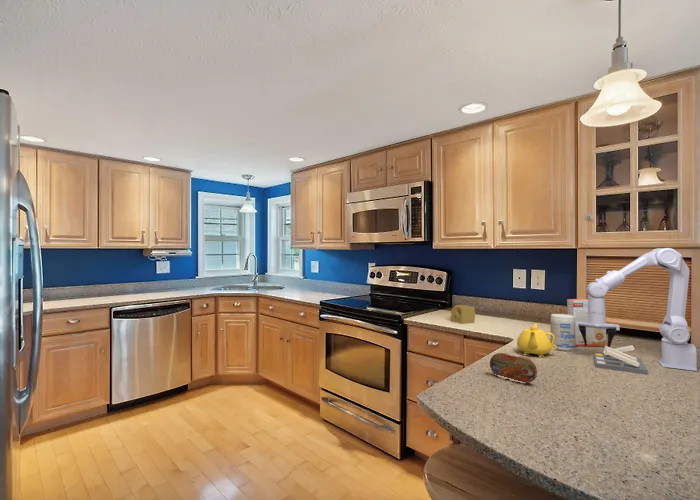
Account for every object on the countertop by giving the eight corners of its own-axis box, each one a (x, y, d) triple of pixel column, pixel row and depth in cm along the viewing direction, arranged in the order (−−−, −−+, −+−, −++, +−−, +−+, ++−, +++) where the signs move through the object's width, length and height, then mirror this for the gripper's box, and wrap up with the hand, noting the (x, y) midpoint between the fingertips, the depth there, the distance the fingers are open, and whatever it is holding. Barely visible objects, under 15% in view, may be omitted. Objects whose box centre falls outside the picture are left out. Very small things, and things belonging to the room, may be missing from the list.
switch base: (640, 362, 139) (640, 354, 139) (647, 374, 126) (647, 365, 126) (593, 356, 147) (593, 348, 147) (595, 367, 134) (595, 358, 134)
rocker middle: (634, 361, 135) (636, 358, 135) (635, 362, 133) (637, 359, 132) (604, 348, 140) (605, 345, 140) (604, 349, 138) (605, 347, 137)
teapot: (556, 363, 139) (556, 333, 139) (514, 357, 146) (513, 329, 147) (557, 351, 156) (557, 324, 156) (519, 346, 164) (519, 321, 164)
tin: (489, 375, 125) (489, 351, 126) (494, 373, 128) (493, 349, 128) (534, 387, 114) (533, 360, 114) (538, 385, 116) (538, 358, 116)
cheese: (450, 321, 225) (450, 305, 225) (463, 320, 229) (463, 304, 229) (462, 324, 215) (461, 307, 215) (475, 322, 220) (475, 306, 220)
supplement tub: (563, 352, 154) (563, 317, 154) (545, 346, 163) (545, 314, 163) (581, 350, 157) (580, 316, 157) (562, 345, 166) (562, 313, 166)
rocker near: (637, 365, 130) (638, 362, 130) (638, 367, 128) (639, 364, 127) (605, 352, 135) (606, 349, 134) (605, 353, 133) (606, 350, 132)
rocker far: (633, 348, 140) (632, 345, 140) (634, 349, 138) (633, 346, 138) (604, 353, 145) (603, 350, 145) (604, 355, 142) (603, 352, 143)
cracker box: (598, 343, 168) (598, 298, 168) (606, 347, 162) (606, 300, 162) (567, 343, 170) (566, 298, 170) (573, 346, 164) (573, 300, 164)
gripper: (575, 312, 145) (575, 346, 145) (620, 315, 138) (620, 351, 138) (575, 309, 151) (575, 342, 151) (618, 312, 144) (618, 346, 144)
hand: (597, 346), depth 145 cm, fingers open, 7 cm apart
